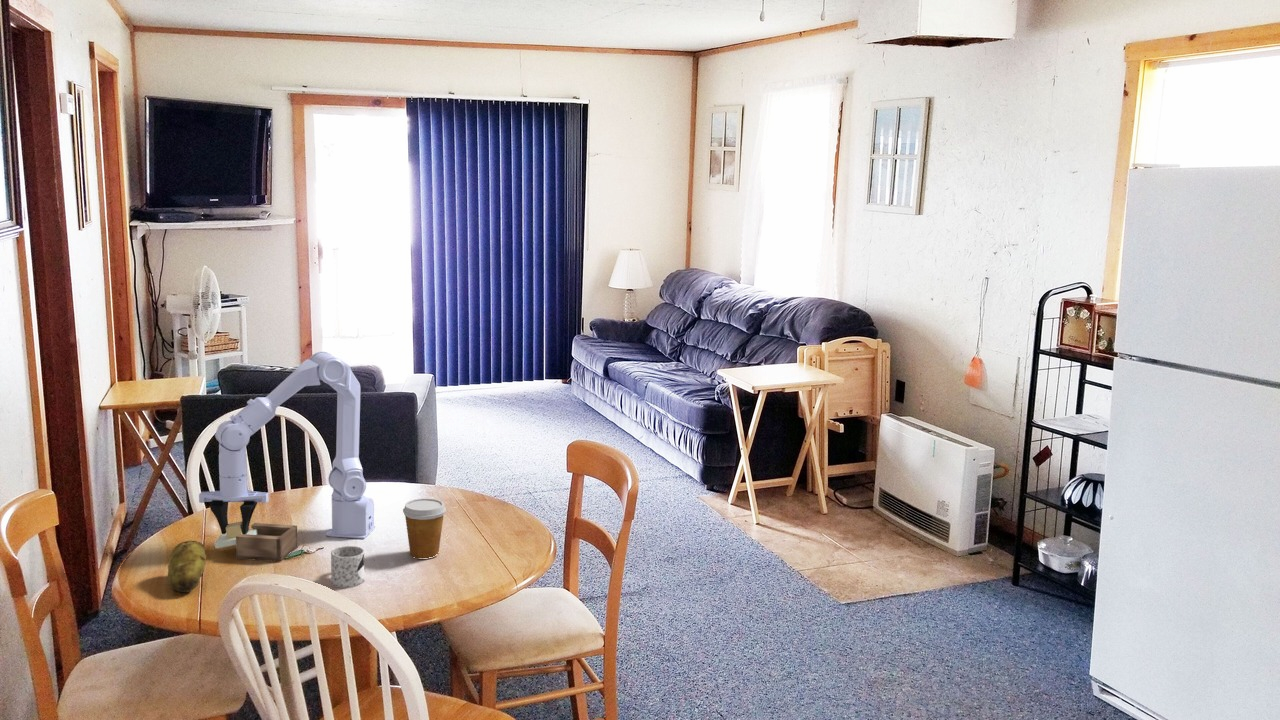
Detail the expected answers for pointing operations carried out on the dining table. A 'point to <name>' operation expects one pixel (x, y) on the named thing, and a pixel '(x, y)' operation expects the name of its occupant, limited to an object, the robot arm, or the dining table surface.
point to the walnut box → (267, 542)
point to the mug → (347, 566)
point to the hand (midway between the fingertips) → (235, 532)
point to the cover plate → (230, 541)
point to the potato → (186, 566)
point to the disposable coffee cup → (424, 526)
